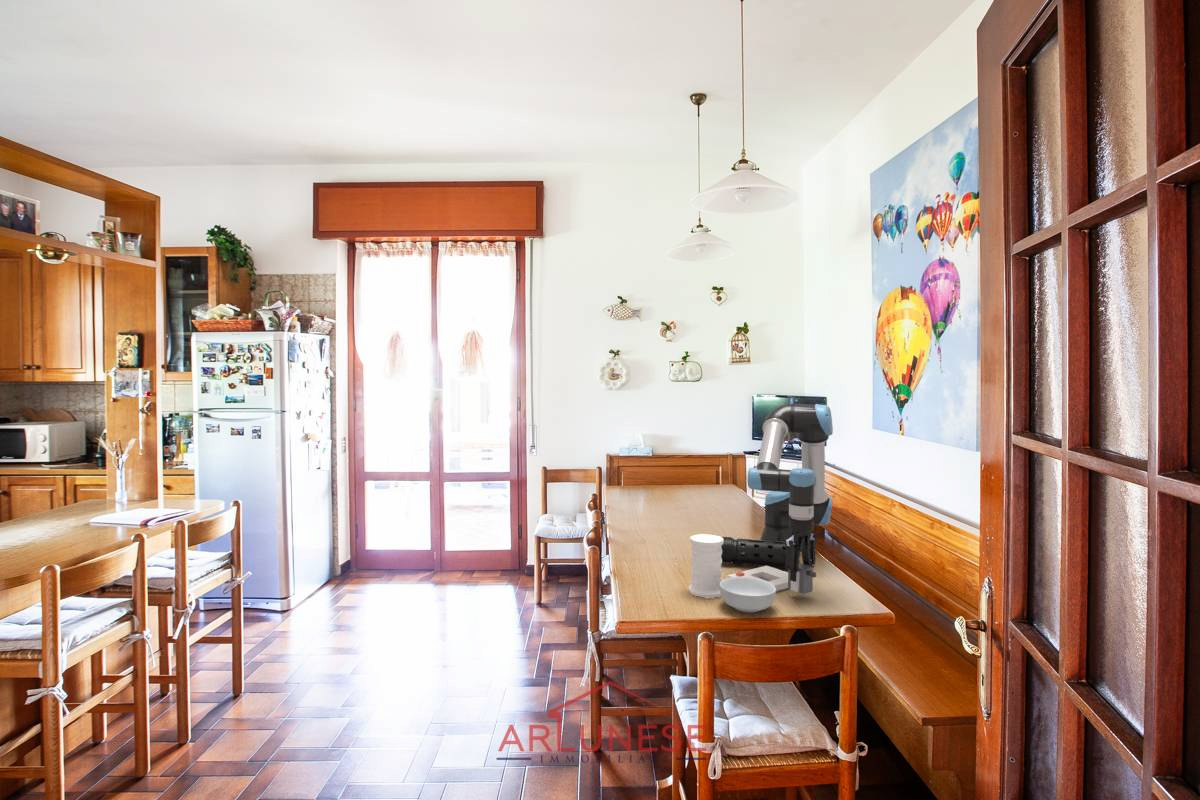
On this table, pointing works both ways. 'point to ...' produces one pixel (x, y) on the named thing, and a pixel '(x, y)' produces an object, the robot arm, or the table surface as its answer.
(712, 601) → the table surface
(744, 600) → the cereal bowl
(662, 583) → the table surface
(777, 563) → the muzzle brake
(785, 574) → the socket plate
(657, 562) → the table surface
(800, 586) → the plug
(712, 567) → the decorative container
